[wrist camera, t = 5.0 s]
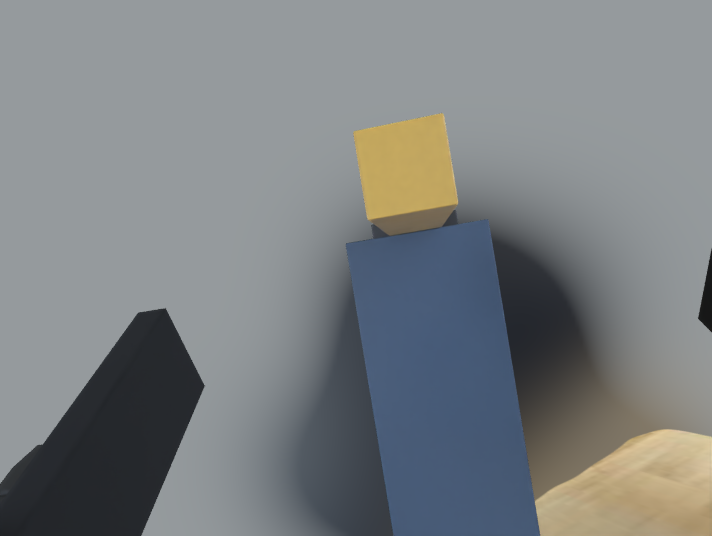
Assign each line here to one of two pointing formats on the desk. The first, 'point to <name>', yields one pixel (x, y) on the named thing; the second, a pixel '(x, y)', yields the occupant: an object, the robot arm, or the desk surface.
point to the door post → (442, 382)
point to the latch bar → (407, 174)
